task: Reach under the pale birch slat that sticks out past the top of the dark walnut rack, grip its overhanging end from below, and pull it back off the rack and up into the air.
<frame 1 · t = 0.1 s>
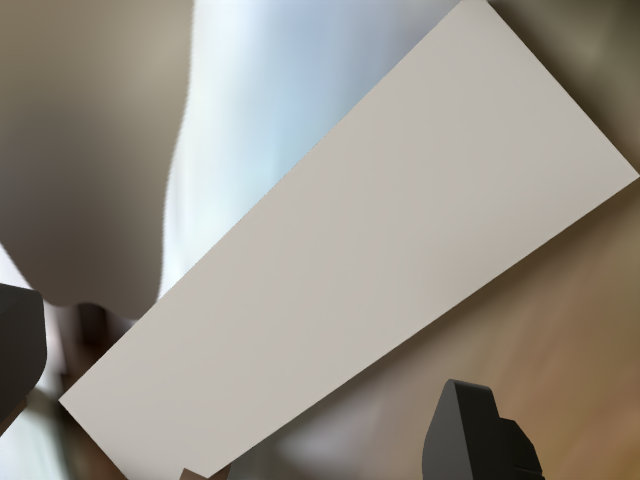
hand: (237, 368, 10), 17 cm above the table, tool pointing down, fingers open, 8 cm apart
walnut rack: (114, 474, 39), on the table
decorative molding: (294, 284, 31), on the table
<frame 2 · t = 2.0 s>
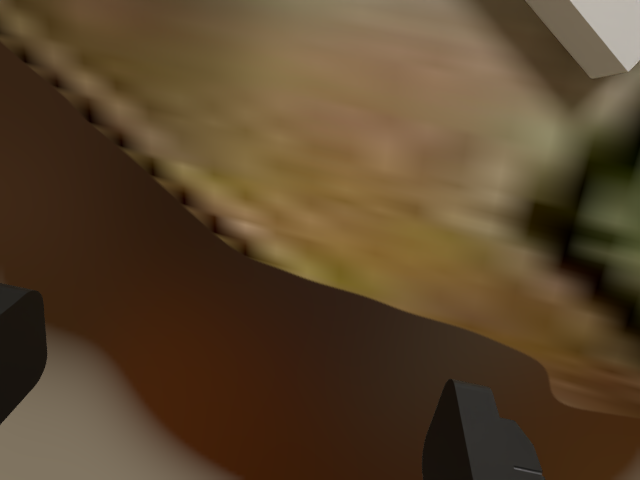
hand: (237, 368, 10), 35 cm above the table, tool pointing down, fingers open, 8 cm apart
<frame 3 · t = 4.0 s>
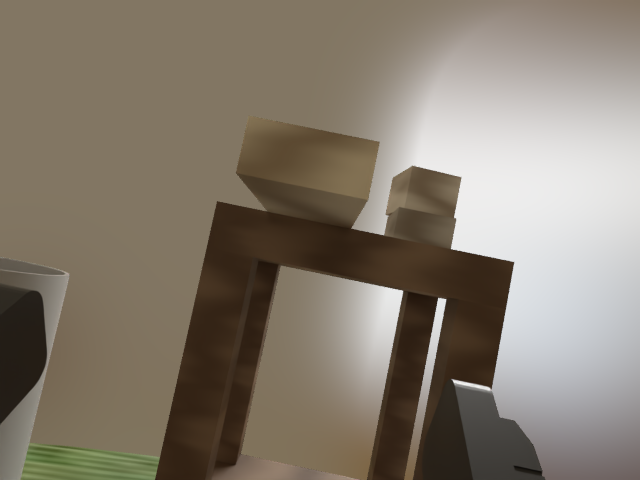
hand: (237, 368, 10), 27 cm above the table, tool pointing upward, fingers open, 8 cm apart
offcut stack: (411, 257, 38), point 32 cm above the table, touching walnut rack
birch slat: (310, 224, 29), point 32 cm above the table, touching walnut rack
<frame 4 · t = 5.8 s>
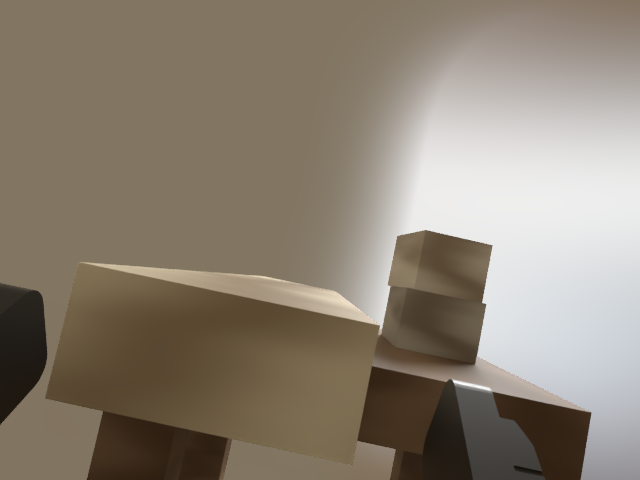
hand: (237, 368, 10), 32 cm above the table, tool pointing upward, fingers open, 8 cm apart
offcut stack: (423, 347, 28), point 32 cm above the table, touching walnut rack
birch slat: (275, 337, 19), point 32 cm above the table, touching walnut rack
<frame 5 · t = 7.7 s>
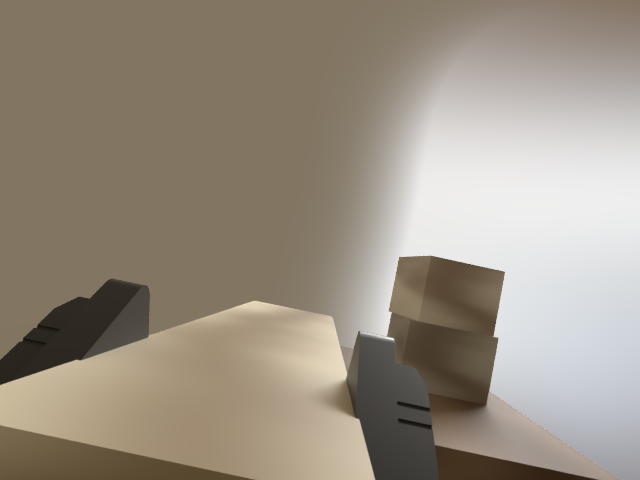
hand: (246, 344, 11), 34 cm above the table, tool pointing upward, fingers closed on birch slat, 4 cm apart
offcut stack: (427, 382, 26), point 32 cm above the table, touching walnut rack
birch slat: (260, 390, 17), point 32 cm above the table, touching gripper, walnut rack
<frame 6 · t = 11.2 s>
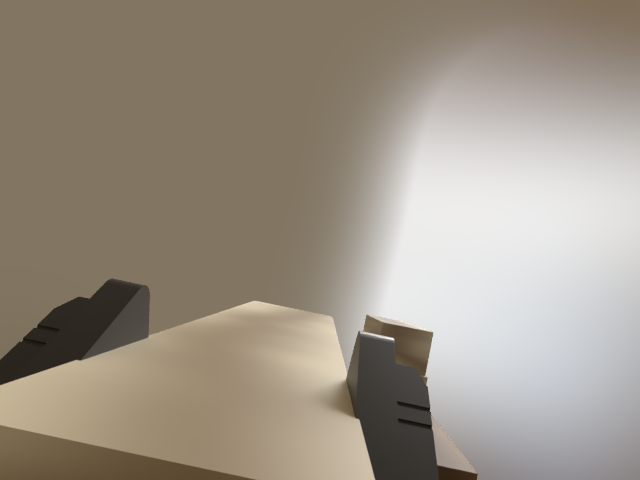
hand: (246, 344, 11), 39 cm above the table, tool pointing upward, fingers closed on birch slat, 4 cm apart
offcut stack: (384, 404, 37), point 32 cm above the table, touching walnut rack
birch slat: (260, 390, 17), point 36 cm above the table, touching gripper
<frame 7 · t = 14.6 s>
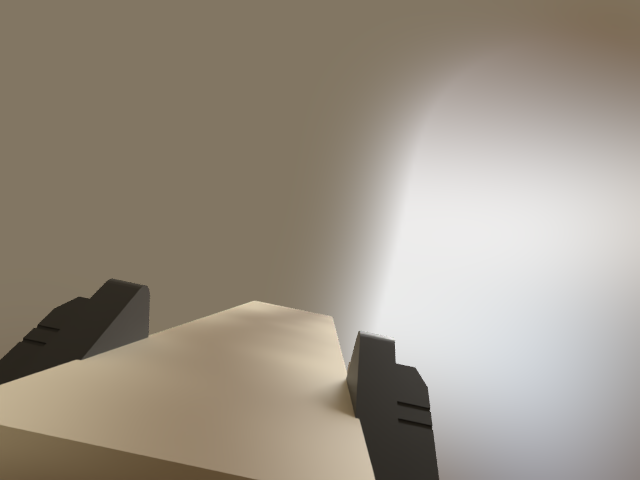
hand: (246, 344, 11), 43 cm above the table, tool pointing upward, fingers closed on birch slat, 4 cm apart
birch slat: (260, 390, 17), point 41 cm above the table, touching gripper
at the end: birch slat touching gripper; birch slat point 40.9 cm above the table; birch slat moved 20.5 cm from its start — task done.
